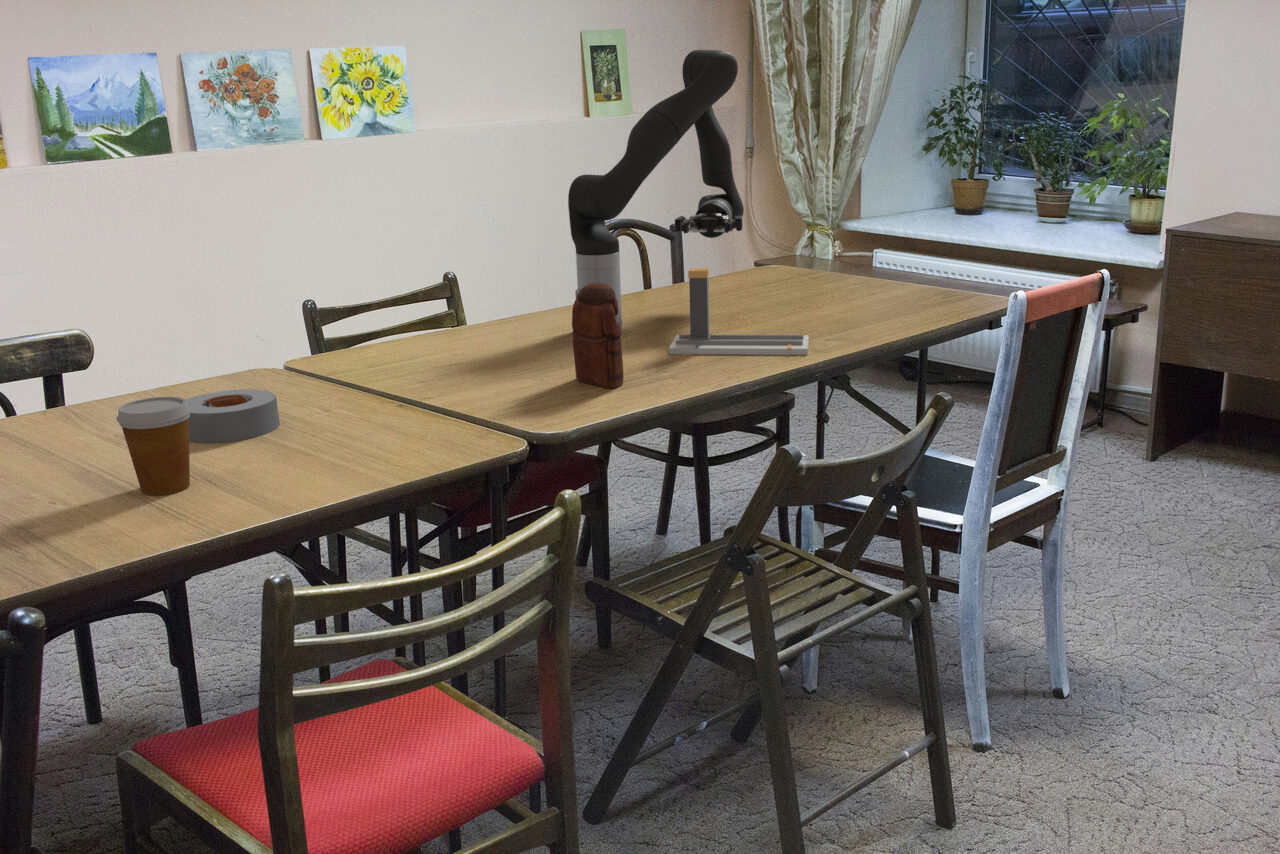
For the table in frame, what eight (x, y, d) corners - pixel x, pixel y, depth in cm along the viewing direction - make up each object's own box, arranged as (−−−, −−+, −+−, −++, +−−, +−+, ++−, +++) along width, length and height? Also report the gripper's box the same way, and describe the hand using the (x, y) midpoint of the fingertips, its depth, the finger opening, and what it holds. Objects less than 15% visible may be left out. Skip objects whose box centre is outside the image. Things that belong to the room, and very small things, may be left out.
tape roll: (180, 424, 193) (176, 394, 192) (276, 412, 198) (272, 383, 197) (180, 449, 179) (176, 418, 178) (283, 436, 185) (279, 405, 183)
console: (668, 354, 229) (668, 344, 229) (677, 340, 241) (676, 330, 241) (807, 355, 225) (807, 345, 224) (808, 340, 237) (808, 331, 237)
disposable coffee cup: (113, 496, 159) (98, 411, 156) (163, 474, 168) (150, 393, 164) (168, 503, 156) (154, 416, 152) (217, 480, 164) (205, 398, 161)
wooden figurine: (636, 384, 208) (632, 284, 203) (609, 391, 204) (605, 289, 199) (593, 373, 217) (588, 277, 211) (566, 380, 213) (561, 282, 207)
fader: (689, 342, 232) (687, 271, 228) (691, 337, 236) (689, 268, 232) (709, 342, 232) (707, 271, 228) (710, 337, 236) (710, 267, 232)
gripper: (681, 201, 257) (671, 210, 241) (745, 200, 254) (739, 209, 239) (681, 235, 259) (672, 246, 244) (746, 234, 257) (740, 245, 241)
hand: (705, 228), depth 241 cm, fingers open, 8 cm apart
